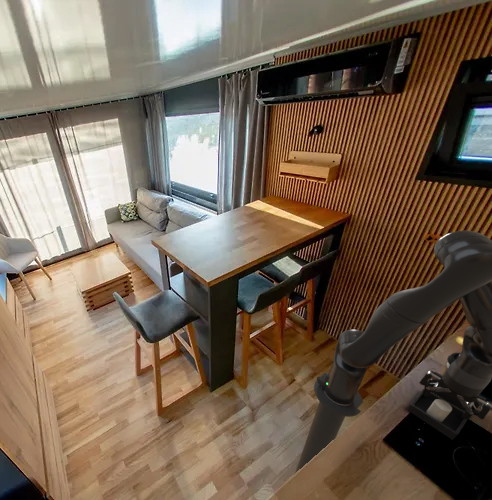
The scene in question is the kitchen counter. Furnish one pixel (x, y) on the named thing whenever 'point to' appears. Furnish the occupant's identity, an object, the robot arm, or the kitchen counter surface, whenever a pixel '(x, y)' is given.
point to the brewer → (447, 426)
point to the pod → (439, 409)
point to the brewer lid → (449, 398)
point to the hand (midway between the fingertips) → (444, 405)
